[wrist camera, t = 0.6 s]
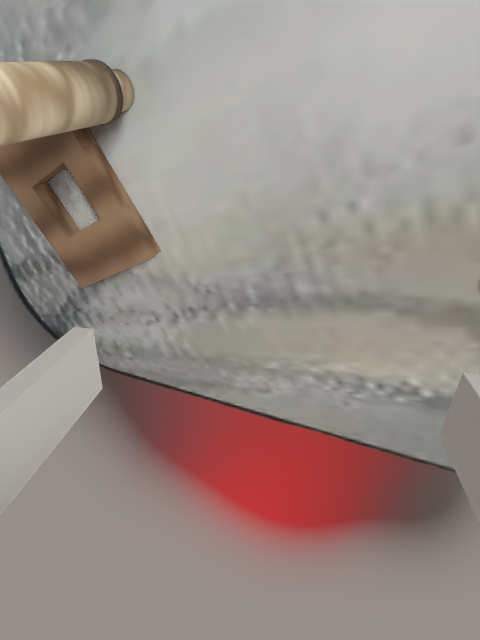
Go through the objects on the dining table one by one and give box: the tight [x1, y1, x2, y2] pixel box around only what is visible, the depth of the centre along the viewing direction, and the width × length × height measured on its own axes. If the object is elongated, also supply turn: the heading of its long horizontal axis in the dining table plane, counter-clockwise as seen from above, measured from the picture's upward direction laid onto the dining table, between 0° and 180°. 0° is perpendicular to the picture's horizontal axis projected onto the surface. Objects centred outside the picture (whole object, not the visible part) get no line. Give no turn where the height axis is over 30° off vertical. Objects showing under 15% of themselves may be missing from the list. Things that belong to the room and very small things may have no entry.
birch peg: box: [0, 59, 134, 146], centre depth 31 cm, size 5×5×16 cm
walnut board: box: [0, 127, 161, 288], centre depth 45 cm, size 20×14×2 cm
